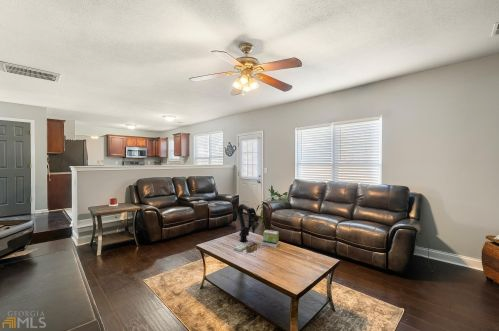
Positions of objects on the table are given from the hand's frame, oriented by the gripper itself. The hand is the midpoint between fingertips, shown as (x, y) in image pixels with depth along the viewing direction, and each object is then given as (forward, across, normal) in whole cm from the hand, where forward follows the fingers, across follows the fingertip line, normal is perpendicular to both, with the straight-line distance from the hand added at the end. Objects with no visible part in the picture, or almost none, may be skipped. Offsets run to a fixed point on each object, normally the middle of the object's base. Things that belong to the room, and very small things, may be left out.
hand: (250, 234), depth 242 cm
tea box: (+12, +15, -16) cm, 25 cm away
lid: (+12, -14, +2) cm, 18 cm away
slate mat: (+12, -14, +2) cm, 19 cm away
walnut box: (+12, -10, -9) cm, 18 cm away
